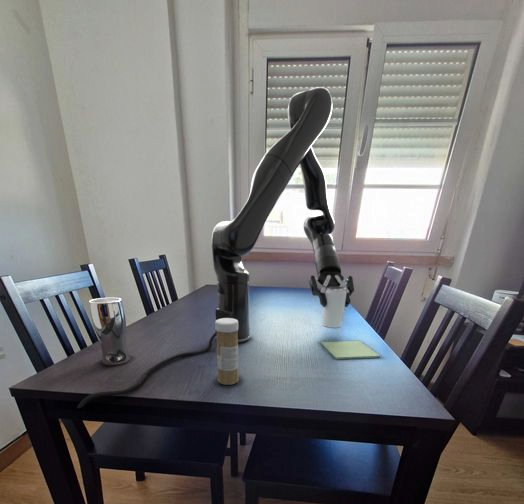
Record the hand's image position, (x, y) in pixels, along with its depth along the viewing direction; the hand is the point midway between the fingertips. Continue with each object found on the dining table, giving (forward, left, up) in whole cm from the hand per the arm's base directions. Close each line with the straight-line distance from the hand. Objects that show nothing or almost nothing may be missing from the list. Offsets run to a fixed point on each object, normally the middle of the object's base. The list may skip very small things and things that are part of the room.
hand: (336, 305), depth 86 cm
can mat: (-7, -9, -10) cm, 15 cm away
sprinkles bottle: (-43, +1, -10) cm, 44 cm away
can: (+1, +1, -7) cm, 7 cm away
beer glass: (-55, +29, -10) cm, 63 cm away
